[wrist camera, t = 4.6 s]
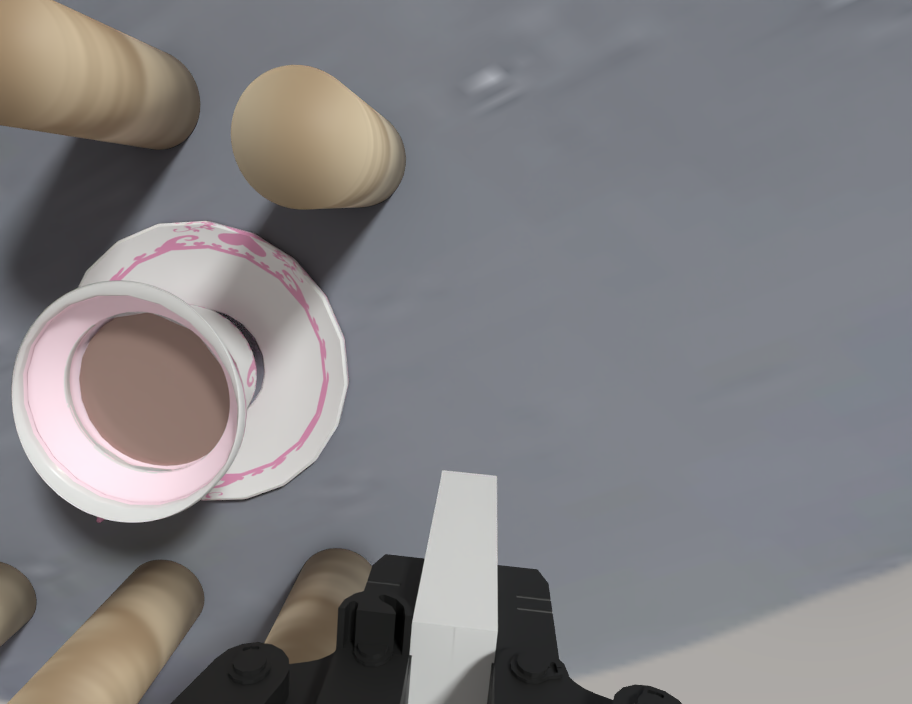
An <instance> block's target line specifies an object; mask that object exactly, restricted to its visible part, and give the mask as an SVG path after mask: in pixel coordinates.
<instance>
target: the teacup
mask: <svg viewBox="0 0 912 704" xmlns="http://www.w3.org/2000/svg"><path fill="white" fill-rule="evenodd" d="M215 311H216V312H215ZM217 312H220V313H224V314H227V315H229V316H230V317H232V318H233V319H235V320H237V321H238V322H240V323H241V324H243V325H244V326H245V328H246V329H247V330H248V331H249V332H250V333H251V334H252V335H253V337H254V338H255V339H256V342H257V344H258V346H259V348H260V350H261V352H262V355H263V362H264V370H265V373H264V378H263V384H262V389H261V390H260V392H259V394H258V395H257V397H256V399H255V400H254V402H253V403H252V404H251V405H250V406H249V404H250V402H251V400H252V398H253V395H254V392H255V388H256V381H257V369H256V363H255V359H254V355H253V352H252V350H251V348H250V345H249V343H248V342H247V340H246V339H245V337H244V335H243V334H242V333H241V332H240V331H239V329H238V328H237V327H236V326H235V325H234V324H233V323H232V322H230V321H229V320H228V319H227V318H225V317H224V316H222V315H221V314H219V313H217ZM348 384H349V377H348V367H347V357H346V347H345V338H344V336H343V333H342V331H341V329H340V326H339V324H338V322H337V319H336V317H335V315H334V313H333V310H332V308H331V306H330V303H329V301H328V299H327V296H326V295H325V294H324V292H323V291H322V290H321V289H320V288H319V287H318V285H317V284H316V283H315V282H314V281H313V280H312V278H311V277H310V276H309V275H308V274H307V273H306V271H305V270H304V269H303V268H302V267H301V266H300V264H299V263H298V262H297V261H296V260H295V259H294V258H292V257H291V256H289V255H288V254H286V253H284V252H283V251H281V250H280V249H278V248H277V247H275V246H273V245H272V244H270V243H269V242H267V241H266V240H264V239H262V238H261V237H259V236H258V235H256V234H255V233H251V232H248V231H244V230H240V229H237V228H233V227H229V226H225V225H222V224H218V223H214V222H211V221H198V222H181V223H163V224H157V225H155V226H152V227H150V228H148V229H145V230H143V231H141V232H138V233H136V234H134V235H131V236H129V237H126V238H124V239H122V240H119V241H117V242H116V243H115V244H114V245H113V246H112V247H111V248H110V249H109V250H108V251H107V252H106V253H105V254H104V255H103V256H102V257H100V258H99V259H98V260H97V261H96V262H95V263H94V264H93V265H92V266H91V267H90V268H89V269H88V270H87V271H86V272H85V274H84V277H83V279H82V281H81V283H80V285H79V287H78V288H77V289H75V290H72V291H70V292H68V293H67V294H65V295H63V296H62V297H60V298H59V299H57V300H56V301H54V302H53V303H52V304H51V305H50V306H48V307H47V308H46V309H45V310H44V311H43V312H42V313H41V314H40V315H39V317H38V318H37V319H36V320H35V321H34V323H33V324H32V326H31V327H30V329H29V330H28V332H27V334H26V335H25V337H24V339H23V341H22V343H21V345H20V348H19V350H18V353H17V356H16V360H15V364H14V368H13V374H12V384H11V398H12V409H13V415H14V420H15V425H16V429H17V432H18V436H19V438H20V441H21V444H22V446H23V448H24V451H25V453H26V455H27V457H28V458H29V460H30V462H31V464H32V465H33V467H34V468H35V470H36V471H37V472H38V474H39V475H40V476H41V478H42V479H43V480H44V481H45V482H46V483H47V484H48V485H49V486H50V487H51V488H52V489H53V490H54V491H55V492H56V493H57V494H58V495H59V496H61V497H62V498H63V499H64V500H66V501H67V502H69V503H70V504H72V505H73V506H75V507H77V508H78V509H80V510H82V511H84V512H86V513H88V514H91V515H94V516H97V522H99V523H100V522H102V521H103V520H105V519H106V520H111V521H117V522H128V523H138V522H148V521H154V520H158V519H163V518H166V517H170V516H172V515H175V514H177V513H180V512H182V511H184V510H186V509H187V508H189V507H191V506H192V505H194V504H195V503H197V502H198V501H199V500H235V499H247V498H250V497H253V496H256V495H259V494H261V493H264V492H267V491H270V490H273V489H276V488H279V487H281V486H284V485H285V484H287V483H288V482H289V481H290V480H292V479H293V478H294V477H296V476H297V475H298V474H299V473H301V472H302V471H303V470H304V469H306V468H307V467H308V466H310V465H311V464H312V463H313V462H315V461H316V460H317V458H318V457H319V455H320V453H321V452H322V450H323V449H324V447H325V446H326V444H327V442H328V441H329V439H330V438H331V436H332V434H333V433H334V431H335V430H336V428H337V427H338V425H339V423H340V419H341V415H342V410H343V406H344V402H345V397H346V393H347V389H348ZM248 406H249V407H248Z"/></svg>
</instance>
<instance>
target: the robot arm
mask: <svg viewBox="0 0 912 704" xmlns="http://www.w3.org/2000/svg"><path fill="white" fill-rule="evenodd" d="M171 704H682V703H681V702H680V701H679V700H678V699H676V698H674V697H673V696H671V695H670V694H668V693H667V692H665V691H663V690H660V689H657V688H654V687H651V686H644V685H632V686H628V687H623V688H622V689H621V690H620V691H618V692H617V693H616V694H615V696H614V700H611V699H608V698H606V697H603V696H600V695H598V694H595V693H593V692H591V691H588V690H586V689H584V688H582V687H581V686H580V685H578V684H577V683H575V682H574V681H573V680H572V679H571V678H570V677H569V675H568V672H567V670H566V667H565V665H564V664H563V663H562V662H561V661H560V660H559V655H558V648H557V641H556V634H555V627H554V620H553V614H552V606H551V601H550V592H549V585H548V582H547V581H546V580H545V579H544V577H543V576H542V575H541V573H540V572H539V571H538V570H537V569H528V568H519V567H510V566H501V565H497V476H492V475H482V474H473V473H463V472H454V471H444V470H443V471H442V476H441V481H440V486H439V491H438V496H437V501H436V506H435V511H434V516H433V521H432V526H431V531H430V536H429V541H428V546H427V551H426V556H425V559H423V558H414V557H405V556H396V555H387V554H385V555H384V556H383V557H382V558H381V559H380V560H378V561H377V562H376V563H375V564H374V565H373V566H372V568H371V571H370V574H369V577H368V581H367V583H366V586H365V589H364V591H362V592H358V593H354V594H353V595H351V596H349V597H348V598H346V599H344V601H343V602H342V603H341V605H340V606H339V607H338V622H337V642H336V650H335V652H334V653H332V654H330V655H328V656H326V657H323V658H321V659H318V660H313V661H308V662H301V663H293V664H289V658H288V657H287V655H286V654H285V652H284V651H283V650H282V649H280V648H278V647H276V646H274V645H272V644H266V643H260V642H256V643H247V644H241V645H239V646H236V647H233V648H231V649H228V650H227V651H225V652H224V653H223V654H221V655H220V656H219V657H217V658H216V659H215V660H214V661H213V662H212V663H211V664H210V665H209V666H208V667H207V668H206V669H205V670H204V671H203V672H202V673H201V674H200V675H199V676H198V677H197V678H196V679H195V680H194V681H193V682H192V683H191V684H190V685H189V686H188V687H187V688H186V689H185V690H184V691H183V692H182V693H181V694H180V695H179V696H178V697H177V698H176V699H175V700H174V701H173V702H172V703H171Z"/></svg>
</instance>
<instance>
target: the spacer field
mask: <svg viewBox="0 0 912 704" xmlns="http://www.w3.org/2000/svg"><path fill="white" fill-rule="evenodd" d="M199 113H200V97H199V91H198V88H197V85H196V83H195V80H194V78H193V77H192V75H191V73H190V72H189V70H188V69H187V68H186V67H185V66H184V65H183V64H182V63H181V62H180V61H179V60H178V59H176V58H175V57H173V56H172V55H170V54H168V53H165V52H163V51H161V50H159V49H157V48H155V47H152V46H150V45H148V44H146V43H144V42H142V41H139V40H137V39H135V38H133V37H131V36H129V35H127V34H124V33H122V32H120V31H118V30H116V29H114V28H111V27H109V26H107V25H105V24H103V23H101V22H98V21H96V20H94V19H92V18H90V17H88V16H86V15H83V14H81V13H79V12H77V11H75V10H73V9H70V8H68V7H66V6H64V5H62V4H60V3H57V2H55V1H53V0H0V125H3V126H9V127H16V128H22V129H28V130H35V131H41V132H47V133H54V134H60V135H66V136H73V137H79V138H85V139H92V140H98V141H104V142H111V143H117V144H123V145H130V146H136V147H142V148H149V149H155V150H162V149H168V148H172V147H174V146H177V145H178V144H180V143H182V142H183V141H184V140H185V139H187V138H188V136H189V135H190V134H191V133H192V131H193V130H194V128H195V126H196V124H197V121H198V118H199ZM231 143H232V148H233V153H234V156H235V159H236V162H237V164H238V167H239V169H240V171H241V172H242V174H243V176H244V177H245V179H246V180H247V181H248V183H249V184H250V185H251V186H252V187H253V188H254V189H255V190H256V191H257V192H258V193H259V194H261V195H262V196H263V197H265V198H266V199H268V200H269V201H271V202H273V203H275V204H278V205H280V206H284V207H287V208H292V209H329V208H354V207H368V206H373V205H376V204H378V203H380V202H382V201H384V200H386V199H387V198H388V197H389V196H391V195H392V194H393V192H394V191H395V190H396V189H397V187H398V186H399V184H400V182H401V180H402V178H403V175H404V171H405V165H406V155H405V149H404V145H403V142H402V139H401V137H400V135H399V133H398V132H397V130H396V129H395V128H394V126H393V125H392V124H391V123H390V122H389V121H387V120H386V119H385V118H384V117H383V116H381V115H380V114H379V113H378V112H376V111H375V110H374V109H373V108H371V107H370V106H369V105H368V104H367V103H365V102H364V101H363V100H362V99H360V98H359V97H358V96H357V95H355V94H354V93H353V92H352V91H350V90H349V89H348V88H347V87H346V86H344V85H343V84H342V83H341V82H339V81H338V80H337V79H336V78H334V77H333V76H331V75H329V74H328V73H326V72H324V71H322V70H319V69H316V68H313V67H310V66H303V65H287V66H281V67H278V68H274V69H272V70H270V71H267V72H265V73H264V74H262V75H261V76H259V77H258V78H256V79H255V80H254V81H253V82H252V83H251V84H250V85H249V86H248V87H247V88H246V89H245V91H244V92H243V94H242V95H241V97H240V99H239V101H238V103H237V105H236V108H235V111H234V114H233V119H232V124H231ZM371 568H372V566H371V565H370V564H369V562H368V561H367V560H366V559H364V558H363V557H362V556H360V555H359V554H357V553H355V552H352V551H350V550H346V549H339V548H333V549H326V550H323V551H320V552H318V553H316V554H315V555H313V556H312V557H311V558H309V559H308V560H307V562H306V563H305V564H304V566H303V568H302V570H301V572H300V574H299V576H298V578H297V580H296V582H295V584H294V586H293V588H292V590H291V592H290V593H289V595H288V597H287V599H286V601H285V603H284V605H283V607H282V609H281V611H280V613H279V615H278V617H277V619H276V621H275V623H274V625H273V627H272V629H271V631H270V633H269V635H268V637H267V639H266V641H265V643H266V644H272V645H274V646H276V647H278V648H280V649H282V650H283V651H284V652H285V654H286V655H287V657H288V658H289V664H293V663H301V662H308V661H313V660H318V659H321V658H323V657H326V656H328V655H330V654H332V653H334V652H335V650H336V642H337V622H338V607H339V606H340V605H341V603H342V602H343V601H344V599H346V598H348V597H349V596H351V595H353V594H354V593H358V592H362V591H364V589H365V586H366V583H367V581H368V577H369V574H370V571H371ZM203 606H204V592H203V589H202V586H201V584H200V582H199V580H198V579H197V577H196V576H195V575H194V574H193V573H192V572H191V571H190V570H189V569H187V568H186V567H184V566H182V565H181V564H178V563H176V562H173V561H168V560H153V561H149V562H146V563H144V564H142V565H141V566H139V567H138V568H137V569H136V570H135V571H134V572H133V573H132V574H131V575H130V576H129V577H128V578H127V579H126V580H125V581H124V582H123V583H122V584H121V585H120V586H119V587H118V589H117V590H116V591H115V592H114V593H113V594H112V595H111V596H110V597H109V598H108V599H107V600H106V601H105V602H104V603H103V604H102V605H101V606H100V607H99V608H98V609H97V610H96V611H95V612H94V614H93V615H92V616H91V617H90V618H89V619H88V620H87V621H86V622H85V623H84V624H83V625H82V626H81V627H80V628H79V629H78V630H77V631H76V632H75V633H74V634H73V635H72V636H71V637H70V639H69V640H68V641H67V642H66V643H65V644H64V645H63V646H62V647H61V648H60V649H59V650H58V651H57V652H56V653H55V654H54V655H53V656H52V657H51V658H50V659H49V660H48V661H47V662H46V664H45V665H44V666H43V667H42V668H41V669H40V670H39V671H38V672H37V673H36V674H35V675H34V676H33V677H32V678H31V679H30V680H29V681H28V682H27V683H26V684H25V685H24V686H23V688H22V689H21V690H20V691H19V692H18V693H17V694H16V695H15V696H14V697H13V698H12V699H11V700H10V701H9V702H8V703H7V704H138V702H139V701H140V700H141V698H142V697H143V695H144V694H145V692H146V691H147V690H148V688H149V687H150V685H151V684H152V682H153V681H154V680H155V678H156V677H157V675H158V674H159V672H160V671H161V669H162V668H163V667H164V665H165V664H166V662H167V661H168V659H169V658H170V657H171V655H172V654H173V652H174V651H175V649H176V648H177V647H178V645H179V644H180V642H181V641H182V639H183V638H184V637H185V635H186V634H187V632H188V631H189V629H190V628H191V627H192V625H193V624H194V622H195V621H196V619H197V618H198V617H199V615H200V613H201V612H202V609H203ZM35 609H36V595H35V591H34V589H33V586H32V585H31V583H30V582H29V580H28V579H27V578H26V577H25V576H24V574H22V573H21V572H20V571H19V570H17V569H16V568H14V567H12V566H10V565H8V564H5V563H2V562H0V646H2V645H3V644H4V643H5V642H6V641H7V640H8V639H9V638H10V637H11V636H13V635H14V634H15V633H16V632H17V631H18V630H19V629H20V628H21V627H22V626H23V625H25V624H26V623H27V622H28V621H29V620H30V619H31V617H32V616H33V614H34V612H35Z"/></svg>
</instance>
